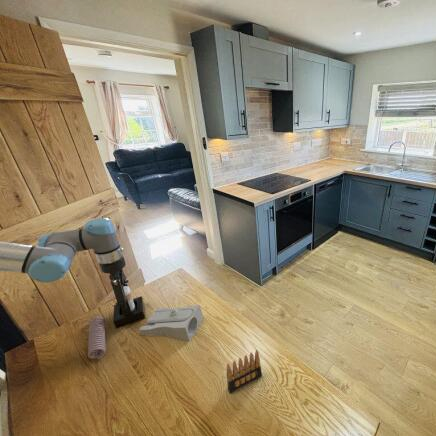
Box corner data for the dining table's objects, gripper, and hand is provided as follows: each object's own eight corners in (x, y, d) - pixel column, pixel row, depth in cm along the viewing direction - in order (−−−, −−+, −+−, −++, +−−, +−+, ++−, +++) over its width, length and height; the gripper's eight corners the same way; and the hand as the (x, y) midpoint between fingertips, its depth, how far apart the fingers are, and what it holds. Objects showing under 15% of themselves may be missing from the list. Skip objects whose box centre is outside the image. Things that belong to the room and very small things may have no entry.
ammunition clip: (259, 371, 78) (258, 346, 73) (262, 376, 76) (260, 350, 72) (227, 388, 73) (223, 362, 68) (229, 393, 72) (225, 367, 67)
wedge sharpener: (189, 341, 88) (186, 327, 85) (140, 334, 90) (135, 321, 87) (203, 318, 97) (201, 305, 95) (158, 312, 100) (154, 299, 97)
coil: (104, 347, 80) (103, 313, 93) (86, 353, 77) (88, 318, 90) (106, 357, 82) (105, 322, 95) (89, 363, 79) (90, 327, 92)
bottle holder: (115, 329, 92) (112, 321, 90) (116, 312, 100) (114, 305, 98) (145, 318, 97) (143, 311, 95) (144, 303, 104) (141, 296, 103)
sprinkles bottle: (121, 318, 96) (112, 293, 91) (129, 310, 101) (121, 285, 95) (132, 319, 96) (123, 294, 91) (140, 311, 100) (131, 286, 95)
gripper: (123, 271, 80) (139, 320, 89) (123, 243, 97) (137, 286, 106) (95, 279, 76) (115, 328, 86) (100, 248, 93) (117, 292, 103)
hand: (127, 305), depth 96 cm, fingers open, 10 cm apart
